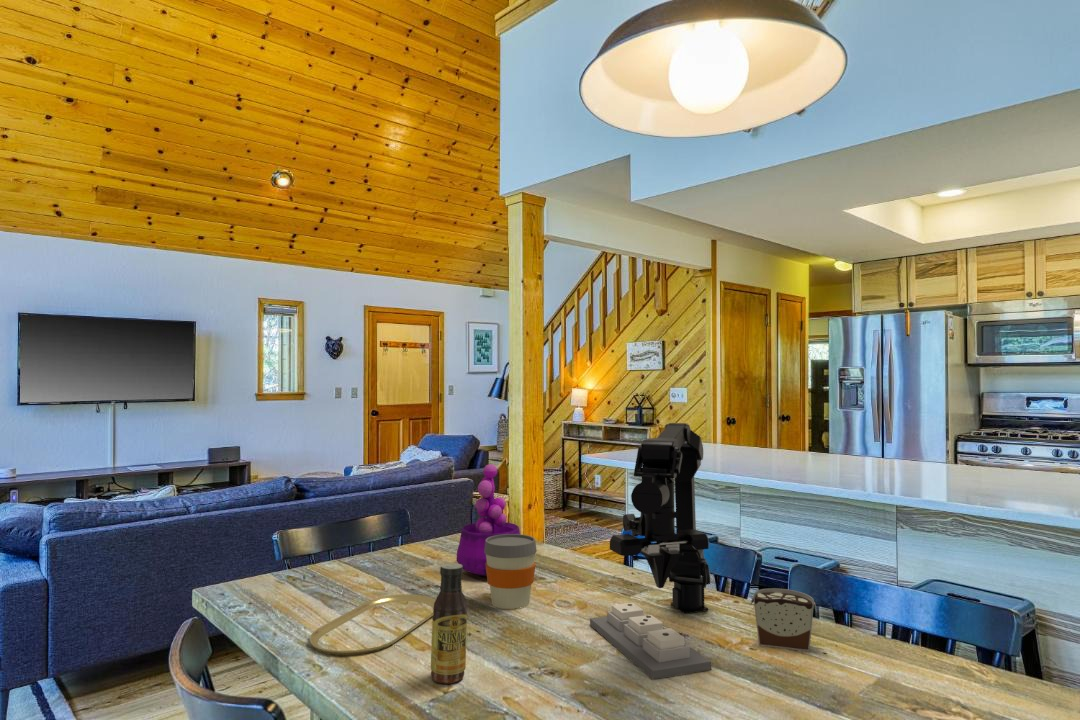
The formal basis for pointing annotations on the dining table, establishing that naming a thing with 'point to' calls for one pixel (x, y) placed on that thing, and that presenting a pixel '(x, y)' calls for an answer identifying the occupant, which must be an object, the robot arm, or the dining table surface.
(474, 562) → the decorative plant
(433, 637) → the sauce bottle
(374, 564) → the dining table surface
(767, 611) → the food container
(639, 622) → the tile three dots
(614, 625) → the button panel
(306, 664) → the dining table surface
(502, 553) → the reusable coffee cup
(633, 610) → the tile two dots
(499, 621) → the dining table surface
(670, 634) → the tile one dot
